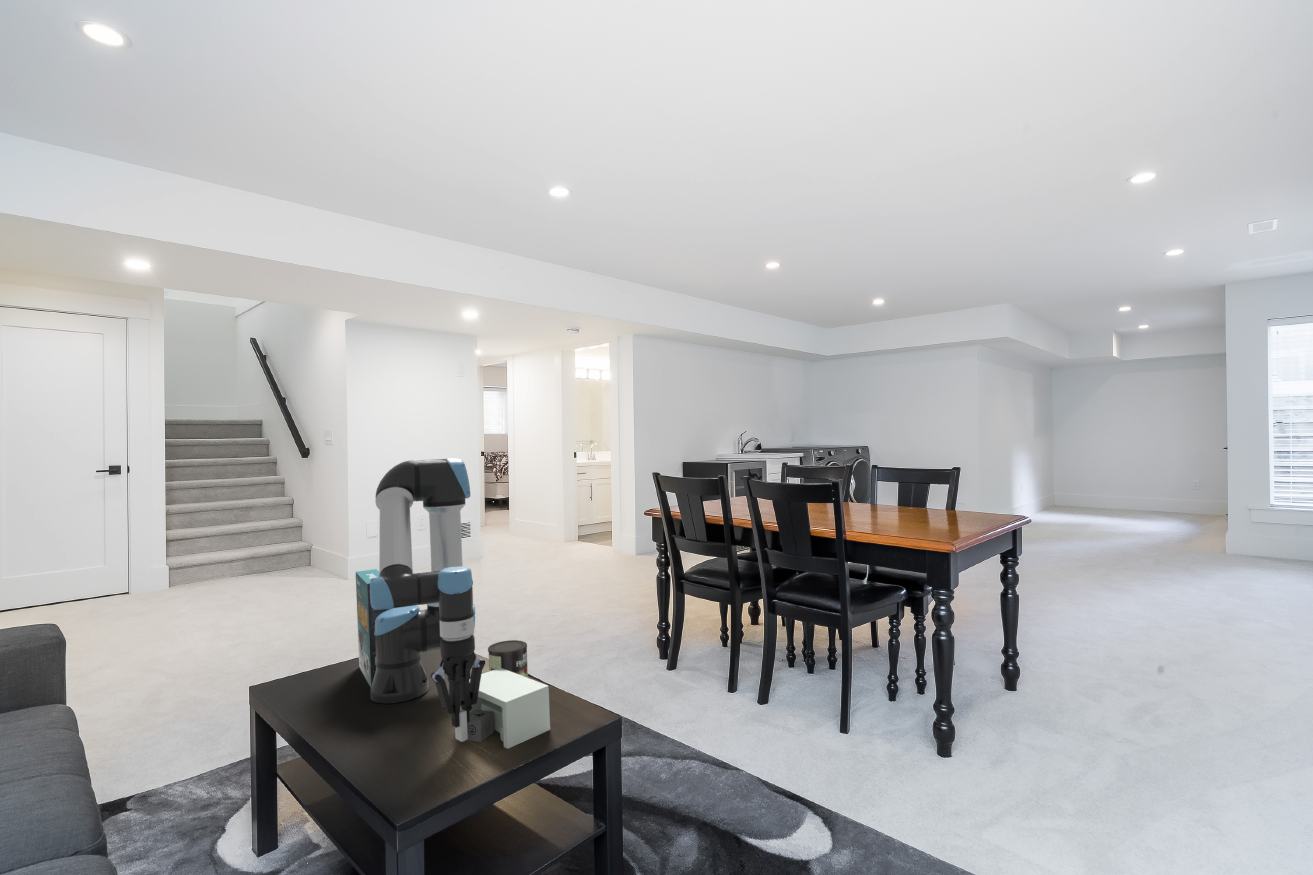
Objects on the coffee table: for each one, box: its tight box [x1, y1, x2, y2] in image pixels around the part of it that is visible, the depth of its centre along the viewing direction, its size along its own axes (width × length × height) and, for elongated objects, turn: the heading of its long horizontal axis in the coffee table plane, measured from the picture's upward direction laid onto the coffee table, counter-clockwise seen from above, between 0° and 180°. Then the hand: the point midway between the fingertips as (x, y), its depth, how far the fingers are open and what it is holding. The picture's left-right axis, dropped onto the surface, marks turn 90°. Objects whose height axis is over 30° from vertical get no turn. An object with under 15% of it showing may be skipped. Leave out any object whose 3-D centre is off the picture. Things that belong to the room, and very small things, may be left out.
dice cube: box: [467, 709, 495, 743], centre depth 153 cm, size 5×5×5 cm
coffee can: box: [487, 639, 529, 678], centre depth 174 cm, size 10×10×14 cm
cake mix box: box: [355, 568, 390, 688], centre depth 196 cm, size 22×6×30 cm, turn 33°
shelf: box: [460, 668, 551, 750], centre depth 157 cm, size 20×12×10 cm, turn 47°
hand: (461, 738), depth 148 cm, fingers closed
